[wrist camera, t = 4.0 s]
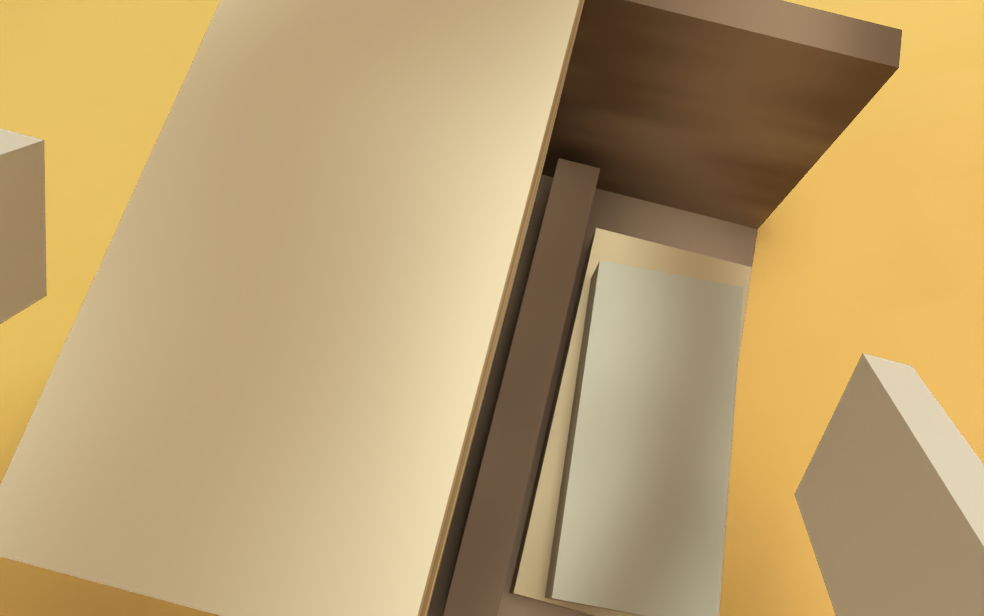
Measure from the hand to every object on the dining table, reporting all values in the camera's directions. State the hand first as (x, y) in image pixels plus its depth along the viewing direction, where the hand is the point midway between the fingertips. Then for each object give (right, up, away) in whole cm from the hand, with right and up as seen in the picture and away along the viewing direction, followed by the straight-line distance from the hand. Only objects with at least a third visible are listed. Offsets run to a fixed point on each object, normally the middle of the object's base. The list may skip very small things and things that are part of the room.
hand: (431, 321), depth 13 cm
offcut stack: (+5, -3, +9) cm, 11 cm away
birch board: (-1, -2, +10) cm, 10 cm away
